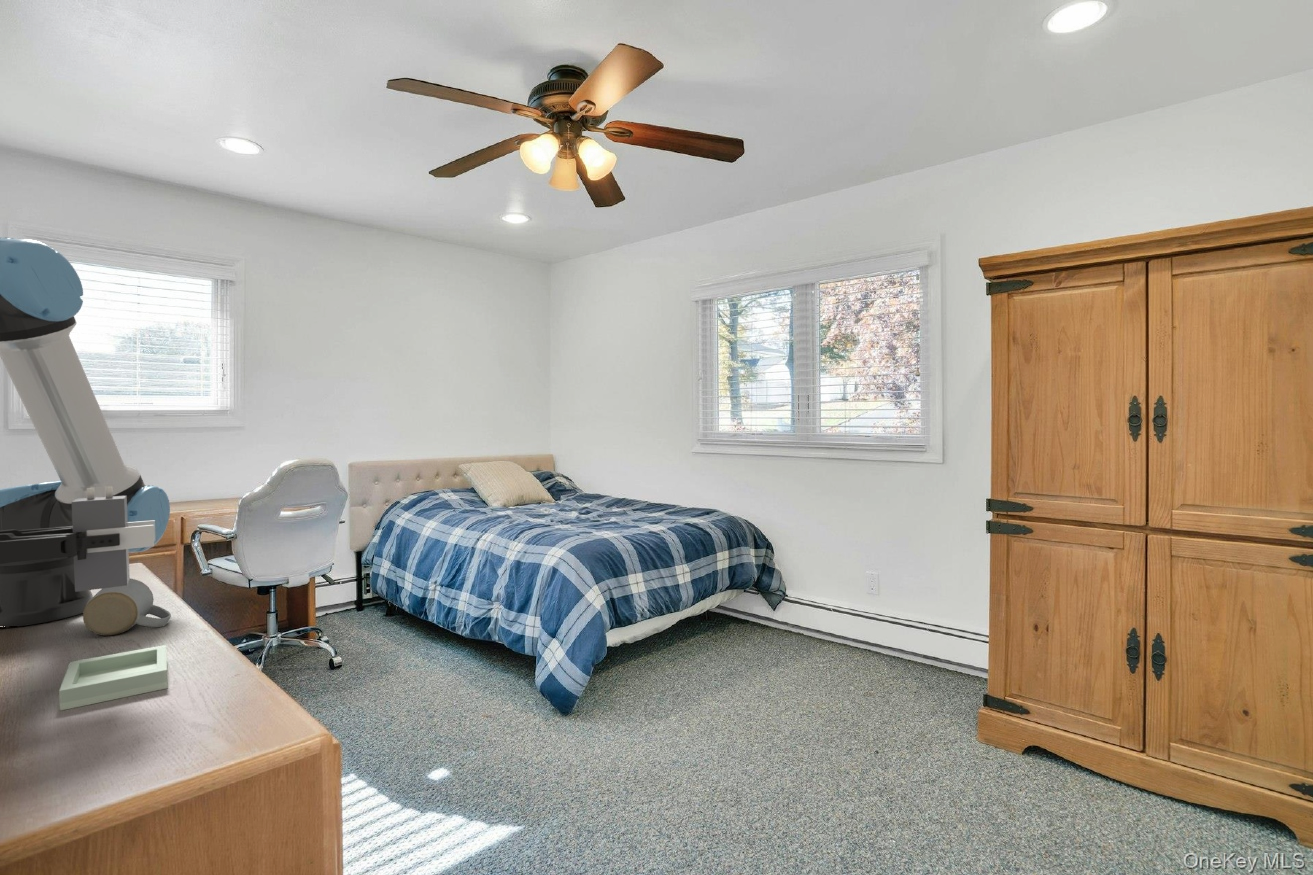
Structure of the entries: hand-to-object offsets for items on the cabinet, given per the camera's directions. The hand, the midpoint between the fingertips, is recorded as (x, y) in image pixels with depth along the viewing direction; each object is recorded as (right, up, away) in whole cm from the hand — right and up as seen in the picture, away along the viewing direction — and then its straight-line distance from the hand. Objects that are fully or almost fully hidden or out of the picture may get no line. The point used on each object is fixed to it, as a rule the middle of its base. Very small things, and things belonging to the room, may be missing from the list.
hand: (153, 532), depth 88 cm
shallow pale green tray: (-2, -19, -3) cm, 19 cm away
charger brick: (-4, -6, -3) cm, 8 cm away
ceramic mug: (-19, -19, +21) cm, 34 cm away
